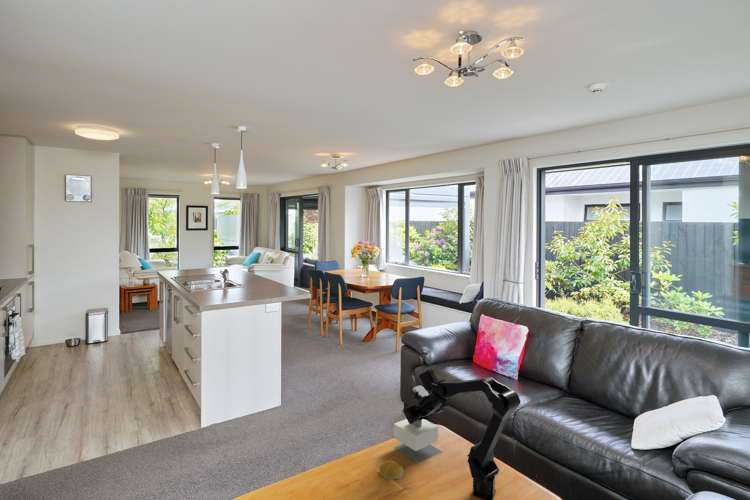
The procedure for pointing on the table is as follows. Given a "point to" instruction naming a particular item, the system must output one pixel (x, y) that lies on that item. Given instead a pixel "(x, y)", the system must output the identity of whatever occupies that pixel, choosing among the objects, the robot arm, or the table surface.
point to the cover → (416, 433)
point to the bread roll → (391, 470)
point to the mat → (418, 452)
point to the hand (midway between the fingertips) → (413, 418)
